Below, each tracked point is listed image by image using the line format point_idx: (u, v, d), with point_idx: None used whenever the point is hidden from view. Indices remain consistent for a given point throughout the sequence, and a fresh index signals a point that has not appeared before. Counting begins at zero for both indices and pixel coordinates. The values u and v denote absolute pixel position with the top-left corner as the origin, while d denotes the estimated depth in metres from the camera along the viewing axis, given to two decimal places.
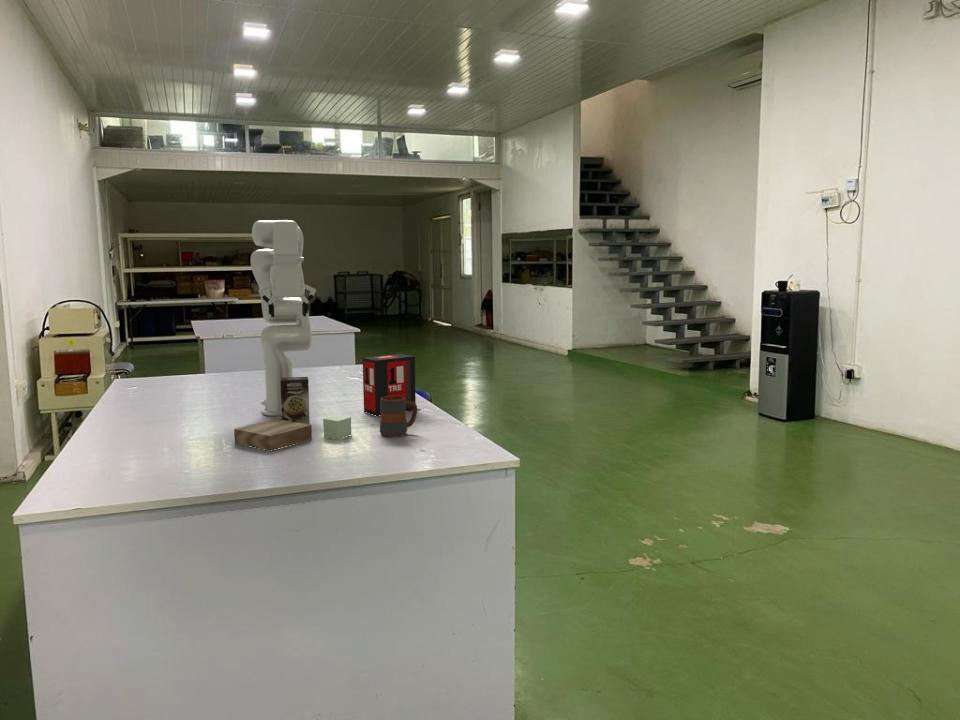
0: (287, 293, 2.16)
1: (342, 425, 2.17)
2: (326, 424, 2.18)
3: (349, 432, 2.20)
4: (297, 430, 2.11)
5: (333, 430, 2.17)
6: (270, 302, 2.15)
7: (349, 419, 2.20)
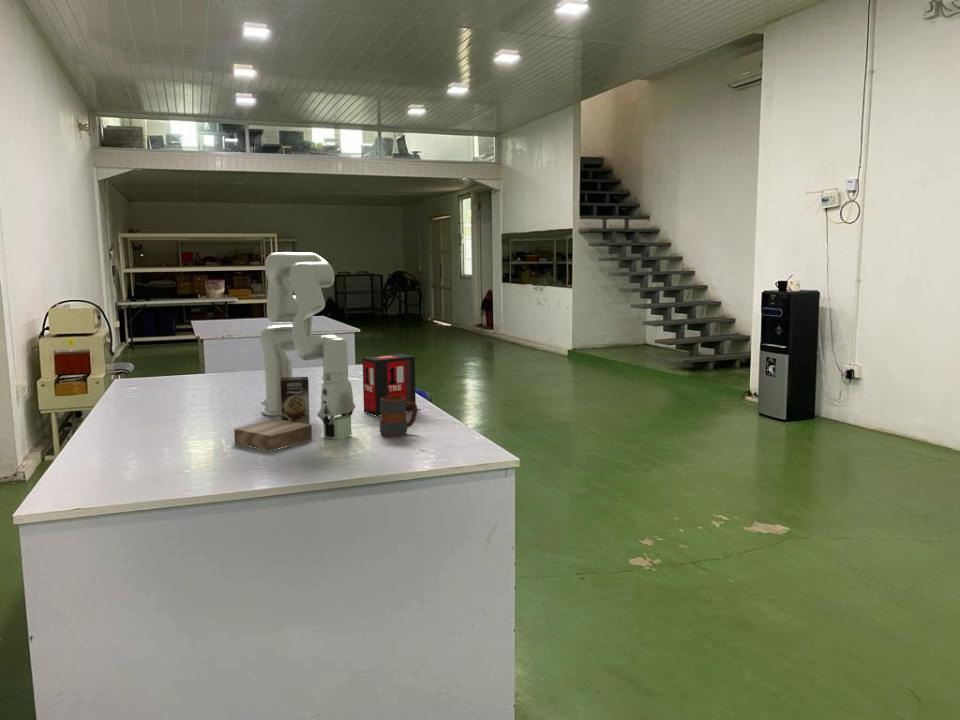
0: None
1: (342, 425, 2.17)
2: None
3: (349, 432, 2.20)
4: (297, 430, 2.11)
5: None
6: None
7: (349, 419, 2.20)
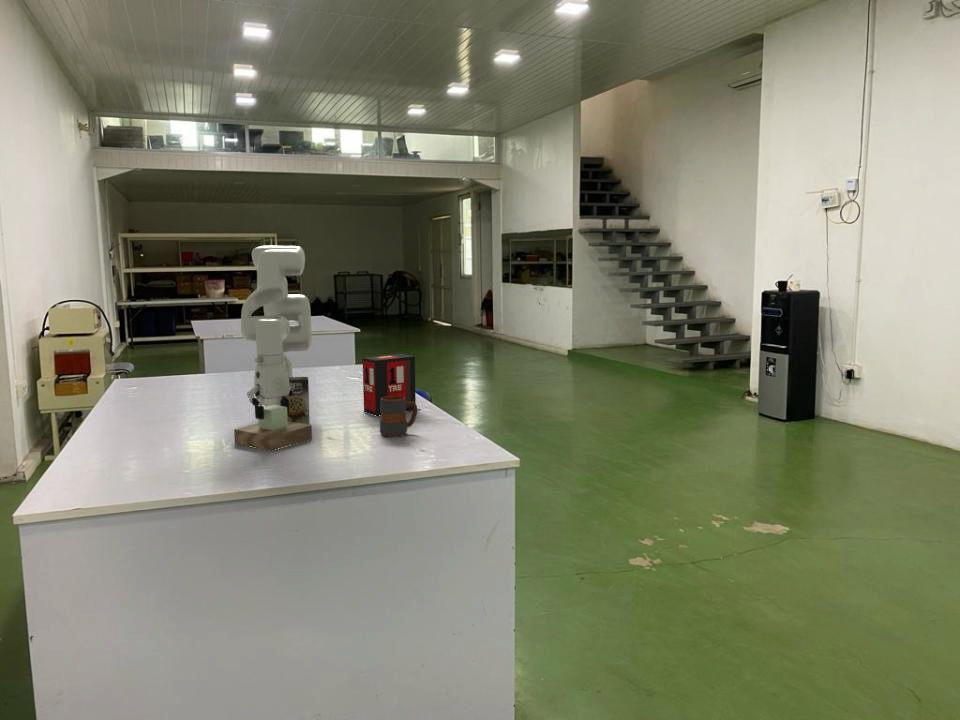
0: None
1: (277, 415, 2.11)
2: None
3: (285, 422, 2.14)
4: (297, 430, 2.11)
5: (267, 420, 2.10)
6: None
7: (285, 409, 2.13)
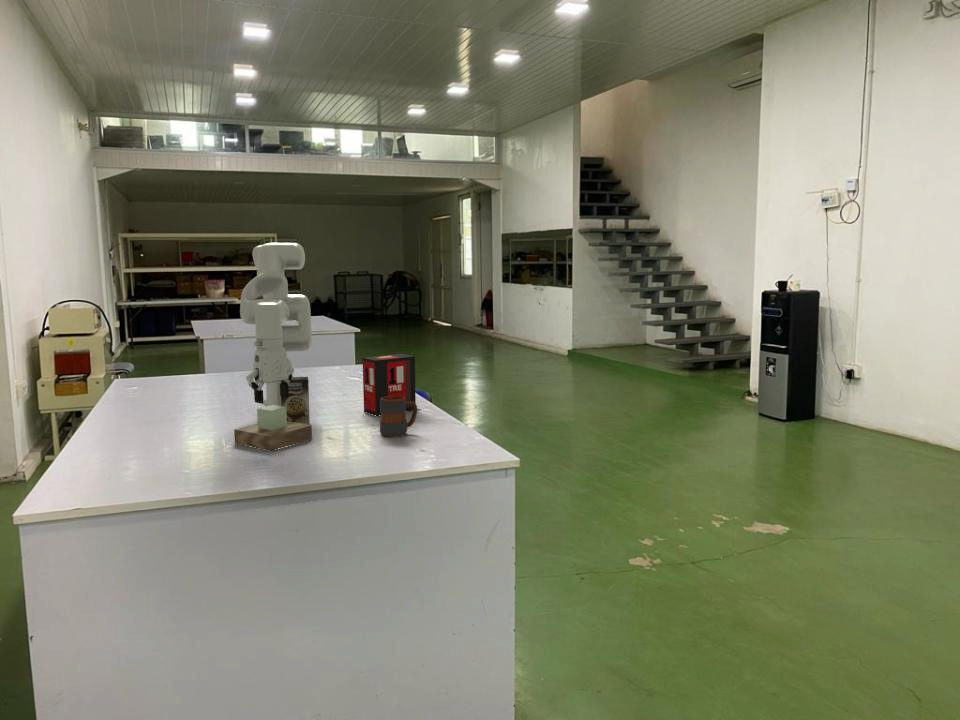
0: None
1: (277, 415, 2.11)
2: (260, 414, 2.11)
3: (284, 422, 2.14)
4: (297, 430, 2.11)
5: (267, 420, 2.10)
6: None
7: (284, 409, 2.13)
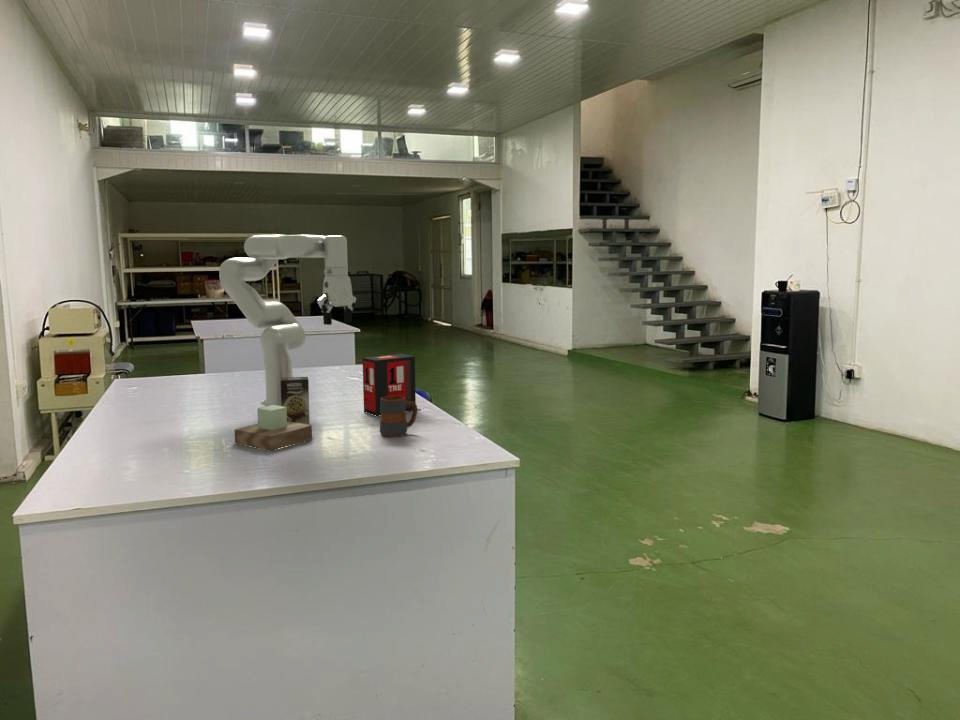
0: None
1: (277, 415, 2.11)
2: (260, 414, 2.11)
3: (285, 422, 2.13)
4: (297, 430, 2.11)
5: (267, 420, 2.10)
6: None
7: (284, 409, 2.13)
